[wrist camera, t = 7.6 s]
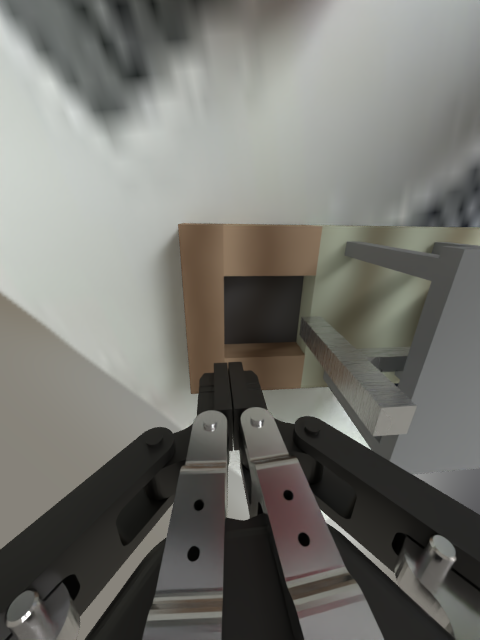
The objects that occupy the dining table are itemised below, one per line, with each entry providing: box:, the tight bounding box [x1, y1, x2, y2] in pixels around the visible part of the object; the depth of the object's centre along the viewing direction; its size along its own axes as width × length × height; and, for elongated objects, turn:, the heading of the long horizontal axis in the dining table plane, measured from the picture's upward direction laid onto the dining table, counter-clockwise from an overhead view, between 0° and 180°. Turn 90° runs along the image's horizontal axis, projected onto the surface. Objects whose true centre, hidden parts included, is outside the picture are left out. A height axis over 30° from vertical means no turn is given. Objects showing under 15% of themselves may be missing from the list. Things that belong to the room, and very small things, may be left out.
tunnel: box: [323, 241, 480, 474], centre depth 17 cm, size 8×13×9 cm, turn 179°
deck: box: [178, 223, 480, 394], centre depth 22 cm, size 32×14×3 cm, turn 89°
